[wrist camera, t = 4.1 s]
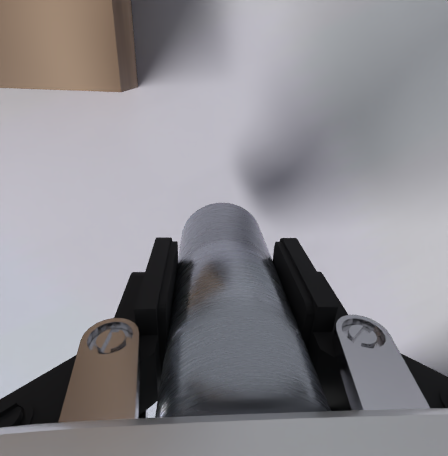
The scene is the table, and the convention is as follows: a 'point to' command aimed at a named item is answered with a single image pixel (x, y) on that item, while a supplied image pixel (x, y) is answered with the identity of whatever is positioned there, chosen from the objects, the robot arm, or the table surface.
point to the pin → (232, 326)
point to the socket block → (67, 45)
